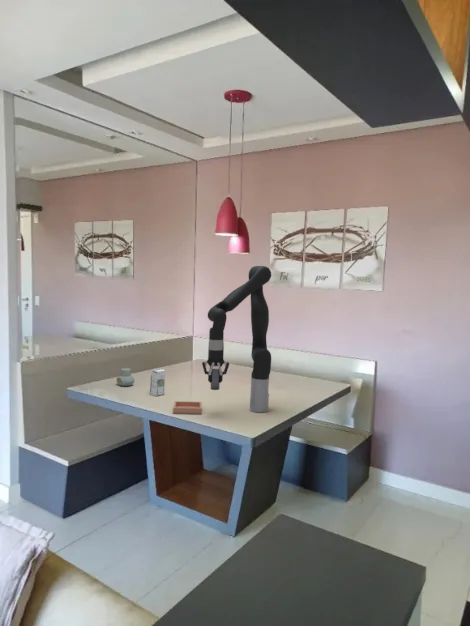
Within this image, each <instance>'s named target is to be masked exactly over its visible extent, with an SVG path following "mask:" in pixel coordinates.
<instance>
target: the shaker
mask: <svg viewBox="0 0 470 626" xmlns="http://www.w3.org/2000/svg"><path fill="white" fill-rule="evenodd" d="M211 369H212V368H211ZM220 385H221V383H220V372H219V366H213V369H212V372H211V383H210V390H212V391H219V390H220V387H221V386H220Z"/></svg>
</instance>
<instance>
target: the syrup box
mask: <svg viewBox="0 0 470 626" xmlns="http://www.w3.org/2000/svg"><path fill="white" fill-rule="evenodd" d="M165 380H166V369H163V368H155V369H154V368H153V369H151V371H150V389H149V395H151V396H153V397H154V396H155V397H160V396H164V395H165V385H166V384H165V383H166V382H165Z"/></svg>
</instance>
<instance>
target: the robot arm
mask: <svg viewBox="0 0 470 626" xmlns="http://www.w3.org/2000/svg"><path fill="white" fill-rule="evenodd" d="M271 277H272V272H271V269H270V268H269V267H268V266H266V265H254V266H252V267H251V268H250V269H249V271H248V280H247V281H246V282H245V283H243V284H242V285H240V286H239V287H236V288H235V289H234V290H233V291H231V292H230V293H228V295H227V296H226V297H224V298H223V299H222V300H221V301H220V302H218V303H216V304H215V305H213V306H212V307H211V308H210V309H209V310H208V312H207V319H208V320H209V321H210V322H212V327H210V328H209V335H208V336H209V337H208V347H207V348H208V352H207V360H205V361H202V362H201V364H202V368H203V372H204V375H208V376H207V380H208V383H210V384H211V372H212V369H213V366H219V372H220V384H221V383H222V382H223V376H224V375H227V373H228V370H229V366H230V362H229V361H226V360H225V359H224V351H225V350H224V348H225V343H224V334H225V333H224V331H225V328H226V325H227V324H226V323H227V313H228V312H232V311H234V310H235V309H237V307H238V306H239V305H240V304H241V303H242V302H244V301H245V299H246V298H248V297H249V296H250V320H251V321H250V322H251V323H250V325H251V336H252V343H251V355H250V356H251V360H252V361H253V366H252V371H251V379H250V394H249V395H250V397H249V400H250V401H249V410H250V411H251V412H253V413H266V412H269V400H270V398H269V397H270V394H269V388H270V387H269V386H270V385H269V384H270V374H271V370H272V369H271V367H272V354H271V352H270V351H269V349H268V343H267V335H268V334H267V333H268V329H269V324H270V323H269V322H270V314H269V312H270V310H269V306H268V302H267V301H266V298H265V296H264V285H265V284H267V283H269V281H270V280H271ZM207 364H208V365H209V370H208V371H207ZM223 365H224V370H223V371H222V366H223ZM211 368H212V369H211Z"/></svg>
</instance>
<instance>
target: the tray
mask: <svg viewBox="0 0 470 626" xmlns="http://www.w3.org/2000/svg"><path fill="white" fill-rule="evenodd" d="M202 402H203V401H179V400H178V401H177V400H174V402H173V407H172V414H174V415H202V410H203V409H202Z"/></svg>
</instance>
